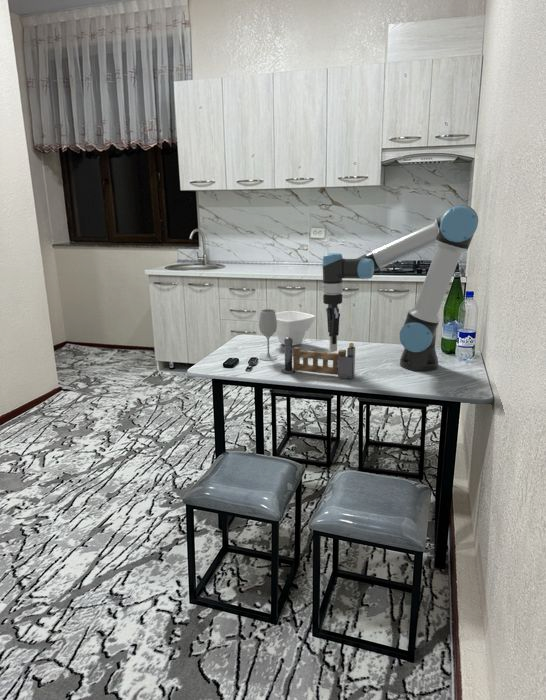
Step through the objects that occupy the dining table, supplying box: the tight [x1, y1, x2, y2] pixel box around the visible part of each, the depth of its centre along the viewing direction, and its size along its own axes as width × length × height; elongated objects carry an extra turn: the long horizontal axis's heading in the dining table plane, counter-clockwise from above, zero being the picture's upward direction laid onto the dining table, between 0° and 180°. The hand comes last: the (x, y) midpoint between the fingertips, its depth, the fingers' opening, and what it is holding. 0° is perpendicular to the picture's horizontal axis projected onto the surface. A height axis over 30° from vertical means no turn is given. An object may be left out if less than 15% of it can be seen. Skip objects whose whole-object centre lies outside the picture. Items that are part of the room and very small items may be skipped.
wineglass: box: [258, 308, 278, 362], centre depth 223 cm, size 8×8×21 cm
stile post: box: [337, 342, 356, 380], centre depth 198 cm, size 5×5×14 cm
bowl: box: [275, 310, 317, 347], centre depth 244 cm, size 19×19×14 cm
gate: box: [292, 346, 347, 376], centre depth 202 cm, size 20×2×10 cm, turn 69°
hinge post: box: [280, 337, 297, 375], centre depth 206 cm, size 6×6×14 cm
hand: (333, 351), depth 211 cm, fingers closed
